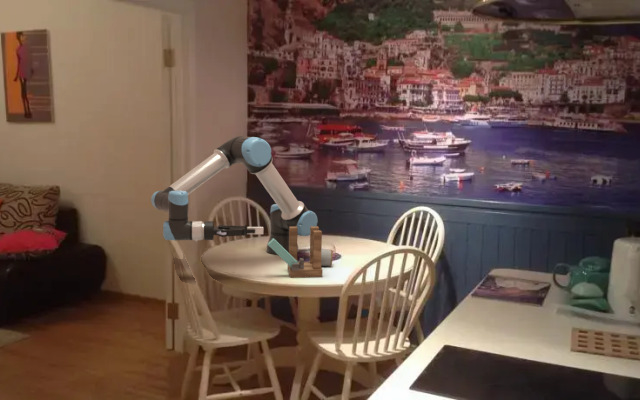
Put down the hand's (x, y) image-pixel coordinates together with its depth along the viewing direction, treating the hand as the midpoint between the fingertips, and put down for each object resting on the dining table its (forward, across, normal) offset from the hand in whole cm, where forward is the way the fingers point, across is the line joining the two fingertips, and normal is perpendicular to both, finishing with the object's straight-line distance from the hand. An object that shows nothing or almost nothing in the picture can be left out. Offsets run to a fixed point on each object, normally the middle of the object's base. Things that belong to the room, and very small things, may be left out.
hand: (263, 230), depth 249 cm
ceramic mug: (+27, -17, -19) cm, 37 cm away
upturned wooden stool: (+18, -4, -19) cm, 26 cm away
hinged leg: (+14, 0, -15) cm, 21 cm away
